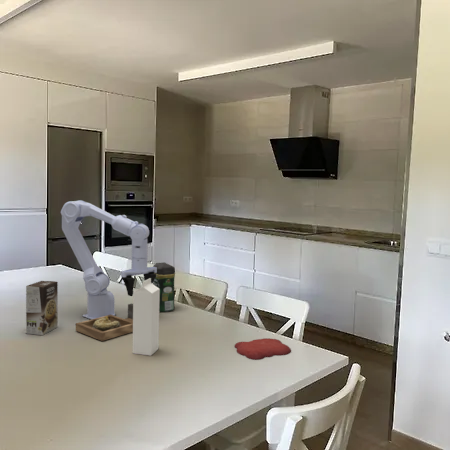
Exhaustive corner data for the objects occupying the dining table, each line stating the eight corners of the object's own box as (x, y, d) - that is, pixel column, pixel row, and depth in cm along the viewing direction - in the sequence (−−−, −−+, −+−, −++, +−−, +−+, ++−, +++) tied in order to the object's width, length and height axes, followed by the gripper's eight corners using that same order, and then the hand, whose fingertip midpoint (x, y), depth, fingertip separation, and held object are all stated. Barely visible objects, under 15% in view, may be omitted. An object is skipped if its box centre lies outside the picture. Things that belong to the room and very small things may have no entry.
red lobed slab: (249, 363, 136) (249, 356, 136) (227, 347, 149) (227, 341, 149) (298, 354, 144) (298, 348, 144) (273, 339, 157) (274, 334, 156)
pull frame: (123, 317, 173) (124, 301, 172) (150, 326, 164) (150, 309, 163) (75, 330, 157) (75, 312, 157) (102, 341, 148) (102, 321, 148)
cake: (107, 340, 152) (106, 324, 152) (85, 334, 157) (84, 319, 157) (127, 329, 161) (127, 314, 160) (106, 324, 166) (105, 310, 165)
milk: (132, 353, 140) (132, 281, 137) (140, 346, 145) (141, 276, 143) (151, 356, 138) (152, 282, 136) (159, 348, 144) (159, 278, 142)
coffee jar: (149, 307, 189) (150, 261, 187) (167, 305, 193) (168, 260, 191) (157, 313, 181) (158, 266, 179) (176, 311, 185) (177, 264, 183)
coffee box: (43, 335, 152) (42, 287, 151) (25, 333, 153) (25, 285, 152) (58, 327, 161) (58, 281, 159) (41, 325, 162) (41, 279, 161)
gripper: (129, 261, 163) (128, 299, 164) (162, 257, 173) (161, 293, 175) (117, 258, 168) (117, 295, 169) (150, 254, 178) (150, 289, 180)
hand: (139, 294), depth 172 cm, fingers open, 7 cm apart
